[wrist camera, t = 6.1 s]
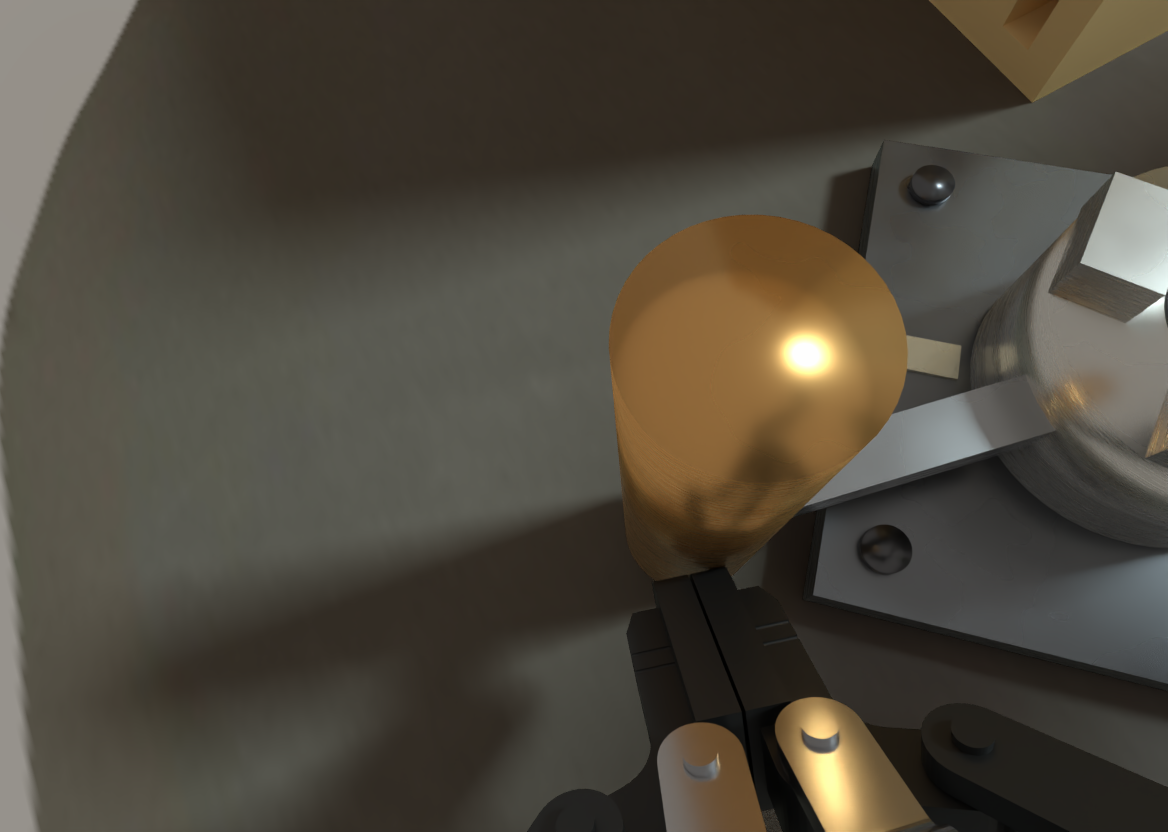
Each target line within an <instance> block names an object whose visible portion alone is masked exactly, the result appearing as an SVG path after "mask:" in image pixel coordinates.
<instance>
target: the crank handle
mask: <svg viewBox="0 0 1168 832" xmlns="http://www.w3.org/2000/svg"><path fill="white" fill-rule="evenodd" d="M609 353H610V364H611V375H612V386H613V397H614V409H615V420H616V431H617V442H618V453H619V464H620V475H621V486H622V497H623V508H624V520H625V530H626V538H627V542H628V546H629V548H630V551H631V553H632V555H633V557H634V559H635V561H636V562H637V563H638V565H639V566H640V567H641V568H642V569H643V571H644V572H645V573H646V574H648V575H649V576H650V577H651V578H652V579H654V580H656V581H659V580H663V579H668V578H673V577H677V576H682V575H686V574H687V575H688V576H689V575H690V574H692V573H696V572H701V571H705V570H710V569H715V568H721V567H726V568H727V569H728V571H729V573H730V575H731V577H732V576H733V575H734V574H735V573H736V572H737V571H738V570H739V569H740V568H741V567H742V566H743V565H744V564H745V563H746V562H747V561H748V560H749V559H750V558H751V557H752V556H753V555H754V554H755V553H756V552H757V551H758V550H759V549H760V548H761V547H762V546H763V545H764V544H766V543H767V542H768V541H769V540H770V539H771V538H772V537H773V536H774V535H775V534H776V533H777V532H778V531H779V530H780V529H781V528H782V527H783V526H784V525H785V524H786V523H787V522H788V521H789V520H790V519H791V518H792V517H795V516H799V515H802V514H805V513H809V512H812V511H815V510H818V509H822V508H825V507H828V506H832V505H835V504H838V503H842V502H845V501H848V500H852V499H855V498H858V497H861V496H865V495H868V494H871V493H875V492H878V491H881V490H885V489H888V488H891V487H895V486H898V485H901V484H904V483H908V482H911V481H914V480H918V479H921V478H924V477H928V476H931V475H934V474H938V473H941V472H944V471H947V470H951V469H954V468H957V467H961V466H964V465H967V464H971V463H974V462H977V461H981V460H984V459H987V458H991V457H994V456H997V455H998V457H999V458H1000V459H1001V461H1002V462H1003V463H1004V464H1005V466H1006V467H1007V468H1008V470H1009V471H1010V472H1011V473H1012V474H1013V475H1014V477H1015V478H1016V479H1017V480H1018V481H1019V482H1020V483H1021V484H1022V485H1023V486H1024V487H1025V488H1026V489H1027V490H1028V491H1029V492H1031V493H1032V494H1033V495H1034V496H1035V497H1037V498H1038V499H1039V500H1040V501H1041V502H1043V503H1044V504H1045V505H1047V506H1048V507H1050V508H1051V509H1053V510H1054V511H1056V512H1057V513H1058V514H1060V515H1061V516H1063V517H1065V518H1066V519H1068V520H1070V521H1072V522H1074V523H1076V524H1078V525H1080V526H1082V527H1084V528H1085V529H1088V530H1090V531H1093V532H1095V533H1098V534H1101V535H1103V536H1106V537H1108V538H1112V539H1115V540H1119V541H1123V542H1126V543H1130V544H1135V545H1142V546H1148V547H1155V548H1168V166H1166V167H1162V168H1158V169H1153V170H1151V171H1148V172H1145V173H1142V174H1139V175H1137V176H1134V177H1130V176H1127V175H1124V174H1121V173H1118V172H1115V173H1114V174H1113V175H1112V176H1111V177H1110V178H1109V179H1108V180H1107V181H1106V182H1105V183H1104V184H1103V185H1102V186H1101V188H1100V189H1099V190H1098V191H1097V192H1096V193H1095V194H1094V195H1093V196H1092V197H1091V198H1090V199H1089V200H1088V201H1087V202H1086V203H1085V204H1084V205H1083V206H1082V208H1081V210H1080V213H1079V215H1078V218H1077V219H1076V220H1075V221H1074V222H1073V223H1072V224H1071V225H1070V226H1069V227H1068V228H1067V229H1066V230H1065V231H1064V232H1063V233H1062V234H1061V235H1060V236H1059V237H1058V238H1057V239H1056V240H1055V241H1054V242H1053V243H1052V244H1051V245H1050V246H1049V247H1048V248H1047V249H1046V250H1045V251H1044V253H1043V254H1042V255H1041V256H1040V257H1039V258H1038V259H1037V260H1036V261H1035V262H1034V263H1033V264H1032V265H1031V266H1030V267H1029V268H1028V269H1027V270H1026V271H1025V272H1024V273H1023V274H1022V275H1021V276H1020V277H1019V278H1018V279H1017V280H1016V281H1015V282H1014V283H1013V284H1012V285H1011V286H1010V287H1009V288H1008V289H1007V290H1006V291H1005V292H1004V293H1003V294H1002V295H1001V297H1000V298H999V299H998V300H997V301H996V302H995V303H994V305H993V306H992V307H991V309H990V310H989V311H988V313H987V314H986V316H985V318H984V320H983V322H982V324H981V326H980V328H979V330H978V333H977V336H976V339H975V342H974V345H973V350H972V357H971V367H970V381H971V388H972V390H971V391H968V392H965V393H961V394H958V395H955V396H951V397H948V398H945V399H941V400H938V401H935V402H931V403H928V404H925V405H921V406H918V407H914V408H911V409H908V410H904V411H901V412H898V413H894V414H892V413H893V411H894V409H895V407H896V405H897V403H898V401H899V398H900V395H901V392H902V390H903V387H904V382H905V377H906V372H907V360H908V347H907V338H906V331H905V327H904V323H903V320H902V316H901V313H900V311H899V308H898V306H897V304H896V301H895V299H894V297H893V295H892V294H891V292H890V290H889V289H888V287H887V285H886V283H885V282H884V281H883V279H882V278H881V277H880V276H879V274H878V273H877V272H876V270H875V269H874V268H873V267H872V266H871V265H870V264H869V263H868V262H867V261H866V260H865V259H864V258H863V257H862V256H861V255H860V254H858V253H857V252H856V251H855V250H853V249H852V248H851V247H850V246H848V245H847V244H845V243H844V242H842V241H841V240H839V239H837V238H836V237H834V236H832V235H831V234H829V233H826V232H824V231H822V230H820V229H818V228H816V227H813V226H810V225H807V224H805V223H802V222H799V221H795V220H791V219H786V218H781V217H775V216H766V215H737V216H728V217H722V218H718V219H713V220H709V221H705V222H702V223H700V224H697V225H694V226H691V227H689V228H687V229H685V230H683V231H681V232H679V233H676V234H674V235H673V236H671V237H670V238H668V239H667V240H665V241H664V242H662V243H661V244H659V245H658V246H657V247H656V248H655V249H653V250H652V251H651V252H650V253H649V254H647V255H646V256H645V258H644V259H643V260H642V261H641V262H640V263H639V264H638V265H637V266H636V267H635V269H634V270H633V272H632V273H631V275H630V276H629V278H628V279H627V280H626V282H625V284H624V286H623V288H622V290H621V292H620V294H619V296H618V298H617V301H616V304H615V307H614V310H613V314H612V319H611V324H610V331H609Z"/></svg>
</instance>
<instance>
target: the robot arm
mask: <svg viewBox="0 0 1168 832" xmlns="http://www.w3.org/2000/svg"><path fill="white" fill-rule="evenodd" d="M652 586H653V592H654V598H655V603H656V608H655V609H650V610H646V611H641V612H637V613H633V614H632V617H631V620H630V624H629V627H628V630H627V633H626V634H627V639H628V644H629V648H630V653H631V658H632V663H633V667H634V672H635V677H636V682H637V686H638V691H639V696H640V700H641V704H642V709H643V713H644V717H645V722H646V726H647V730H648V735H649V739H650V744H651V750H650V755H649V758H648V760H647V763H646V765H645V766H644V768H643V770H642V771H641V772H640V773H639V775H638V776H637V777H636V778H635V779H633V780H632V781H631V782H630V783H628V784H627V785H625V786H624V787H622V788H621V789H619V790H617V791H615V792H614V793H612V794H610V795H609V796H607V795H605V794H603V793H601V792H598V791H595V790H590V789H577V790H571V791H568V792H565V793H563V794H561V795H559V796H557V797H556V798H554V799H553V800H551V801H550V802H549V803H548V804H547V805H546V806H545V807H544V808H543V809H542V811H541V812H540V813H539V815H538V816H537V818H536V819H535V821H534V822H533V824H532V825H531V827H530V828H529V830H528V831H527V832H767V831H766V828H765V824H764V820H763V817H762V813H761V811H764V810H768V809H773V808H774V810H775V813H776V815H777V818H778V821H779V823H780V826H781V828H782V831H783V832H1168V787H1166V786H1163V785H1161V784H1159V783H1156V782H1154V781H1152V780H1149V779H1147V778H1145V777H1143V776H1140V775H1138V774H1136V773H1133V772H1131V771H1129V770H1126V769H1124V768H1122V767H1120V766H1117V765H1115V764H1113V763H1110V762H1108V761H1106V760H1104V759H1101V758H1099V757H1097V756H1094V755H1092V754H1090V753H1087V752H1085V751H1083V750H1081V749H1078V748H1076V747H1074V746H1071V745H1069V744H1067V743H1064V742H1062V741H1060V740H1058V739H1055V738H1053V737H1051V736H1048V735H1046V734H1044V733H1042V732H1039V731H1037V730H1035V729H1032V728H1030V727H1028V726H1025V725H1023V724H1021V723H1019V722H1016V721H1014V720H1012V719H1009V718H1007V717H1005V716H1002V715H1000V714H998V713H996V712H993V711H991V710H988V709H986V708H983V707H980V706H976V705H971V704H960V703H955V704H947V705H944V706H940V707H938V708H936V709H934V710H933V711H931V712H930V713H929V714H928V715H927V716H926V717H925V719H924V721H923V723H922V728H921V730H918V729H902V728H887V727H879V726H874V725H870V724H867V723H864V722H863V721H862V720H861V719H860V717H859V716H858V715H857V714H856V713H855V712H854V711H853V710H852V709H850V708H849V707H847V706H846V705H844V704H842V703H840V702H838V701H835V700H833V699H832V698H831V696H830V694H829V692H828V691H827V689H826V687H825V685H824V683H823V681H822V680H821V678H820V676H819V674H818V672H817V671H816V669H815V667H814V665H813V663H812V662H811V660H810V658H809V656H808V654H807V653H806V651H805V649H804V647H803V645H802V643H801V642H800V640H799V639H798V638H797V634H796V633H795V631H794V629H793V627H792V625H791V624H790V623H789V621H788V618H787V616H786V614H785V613H784V611H783V609H782V607H781V605H780V604H779V602H778V600H777V599H775V598H774V597H773V596H771V595H770V594H768V593H767V592H766V591H764V590H763V589H762V588H760V587H759V586H755V587H751V588H746V589H742V590H737V588H736V586H735V584H734V582H733V580H732V577H731V575H730V573H729V571H728V569H727V568H726V567H721V568H715V569H710V570H705V571H701V572H696V573H692V574H690V575H689V576H688V575H687V574H686V575H682V576H677V577H673V578H668V579H663V580H659V581H654V582H652Z"/></svg>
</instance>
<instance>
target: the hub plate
mask: <svg viewBox="0 0 1168 832" xmlns="http://www.w3.org/2000/svg"><path fill="white" fill-rule="evenodd" d="M1111 176H1112V175H1110V174H1103V173H1097V172H1090V171H1084V170H1077V169H1071V168H1064V167H1058V166H1051V165H1045V164H1038V163H1032V162H1026V161H1019V160H1013V159H1006V158H1000V157H993V156H987V155H980V154H974V153H967V152H961V151H954V150H948V149H941V148H935V147H929V146H922V145H916V144H909V143H903V142H896V141H890V140H884V141H883V143H882V145H881V148H880V150H879V152H878V154H877V156H876V158H875V160H874V163H873V165H872V170H871V176H870V182H869V188H868V194H867V201H866V207H865V213H864V219H863V226H862V232H861V238H860V244H859V251H858V254H860V255H861V256H862V257H863V258H864V259H865V260H866V261H867V262H868V263H869V264H870V265H871V266H872V267H873V268H874V269H875V270H876V272H877V273H878V274H879V276H880V277H881V278H882V279H883V281H884V282H885V283H886V285H887V287H888V289H889V290H890V292H891V294H892V295H893V297H894V299H895V301H896V304H897V306H898V308H899V311H900V313H901V316H902V320H903V323H904V327H905V331H906V338H907V347H908V360H907V372H906V377H905V382H904V387H903V390H902V392H901V395H900V398H899V401H898V403H897V405H896V407H895V409H894V411H893V413H892V414H894V413H898V412H901V411H904V410H908V409H911V408H914V407H918V406H921V405H925V404H928V403H931V402H935V401H938V400H941V399H945V398H948V397H951V396H955V395H958V394H961V393H965V392H968V391H971V390H972V388H971V381H970V367H971V357H972V350H973V345H974V342H975V339H976V336H977V333H978V330H979V328H980V326H981V324H982V322H983V320H984V318H985V316H986V314H987V313H988V311H989V310H990V309H991V307H992V306H993V305H994V303H995V302H996V301H997V300H998V299H999V298H1000V297H1001V295H1002V294H1003V293H1004V292H1005V291H1006V290H1007V289H1008V288H1009V287H1010V286H1011V285H1012V284H1013V283H1014V282H1015V281H1016V280H1017V279H1018V278H1019V277H1020V276H1021V275H1022V274H1023V273H1024V272H1025V271H1026V270H1027V269H1028V268H1029V267H1030V266H1031V265H1032V264H1033V263H1034V262H1035V261H1036V260H1037V259H1038V258H1039V257H1040V256H1041V255H1042V254H1043V253H1044V251H1045V250H1046V249H1047V248H1048V247H1049V246H1050V245H1051V244H1052V243H1053V242H1054V241H1055V240H1056V239H1057V238H1058V237H1059V236H1060V235H1061V234H1062V233H1063V232H1064V231H1065V230H1066V229H1067V228H1068V227H1069V226H1070V225H1071V224H1072V223H1073V222H1074V221H1075V220H1076V219H1077V218H1078V215H1079V213H1080V210H1081V208H1082V206H1083V205H1084V204H1085V203H1086V202H1087V201H1088V200H1089V199H1090V198H1091V197H1092V196H1093V195H1094V194H1095V193H1096V192H1097V191H1098V190H1099V189H1100V188H1101V186H1102V185H1103V184H1104V183H1105V182H1106V181H1107V180H1108V179H1109V178H1110V177H1111ZM803 600H807V601H811V602H815V603H819V604H823V605H827V606H831V607H835V608H839V609H843V610H847V611H851V612H855V613H859V614H863V615H867V616H871V617H875V618H879V619H883V620H887V621H891V622H895V623H899V624H903V625H907V626H911V627H915V628H919V629H923V630H926V631H930V632H934V633H938V634H942V635H946V636H950V637H954V638H958V639H962V640H966V641H970V642H974V643H978V644H982V645H986V646H990V647H994V648H998V649H1002V650H1006V651H1010V652H1014V653H1018V654H1022V655H1026V656H1030V657H1034V658H1038V659H1042V660H1046V661H1050V662H1054V663H1058V664H1062V665H1066V666H1070V667H1074V668H1078V669H1082V670H1086V671H1090V672H1094V673H1098V674H1102V675H1106V676H1110V677H1114V678H1118V679H1122V680H1126V681H1130V682H1134V683H1138V684H1142V685H1146V686H1150V687H1154V688H1158V689H1161V690H1165V691H1168V548H1155V547H1148V546H1142V545H1135V544H1130V543H1126V542H1123V541H1119V540H1115V539H1112V538H1108V537H1106V536H1103V535H1101V534H1098V533H1095V532H1093V531H1090V530H1088V529H1085V528H1084V527H1082V526H1080V525H1078V524H1076V523H1074V522H1072V521H1070V520H1068V519H1066V518H1065V517H1063V516H1061V515H1060V514H1058V513H1057V512H1056V511H1054V510H1053V509H1051V508H1050V507H1048V506H1047V505H1045V504H1044V503H1043V502H1041V501H1040V500H1039V499H1038V498H1037V497H1035V496H1034V495H1033V494H1032V493H1031V492H1029V491H1028V490H1027V489H1026V488H1025V487H1024V486H1023V485H1022V484H1021V483H1020V482H1019V481H1018V480H1017V479H1016V478H1015V477H1014V475H1013V474H1012V473H1011V472H1010V471H1009V470H1008V468H1007V467H1006V466H1005V464H1004V463H1003V462H1002V461H1001V459H1000V458H999V457H998V455H997V456H994V457H991V458H987V459H984V460H981V461H977V462H974V463H971V464H967V465H964V466H961V467H957V468H954V469H951V470H947V471H944V472H941V473H938V474H934V475H931V476H928V477H924V478H921V479H918V480H914V481H911V482H908V483H904V484H901V485H898V486H895V487H891V488H888V489H885V490H881V491H878V492H875V493H871V494H868V495H865V496H861V497H858V498H855V499H852V500H848V501H845V502H842V503H838V504H835V505H832V506H828V507H825V508H822V509H818V510H817V513H816V519H815V525H814V531H813V538H812V544H811V550H810V556H809V563H808V569H807V575H806V581H805V588H804V594H803Z"/></svg>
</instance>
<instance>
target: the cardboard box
mask: <svg viewBox="0 0 1168 832" xmlns="http://www.w3.org/2000/svg"><path fill="white" fill-rule="evenodd" d="M929 1H930V2H931V3H932V4H933V5H934V6H935V7H936V8H937V9H938V10H939V11H940V12H941V13H942V14H943V15H944V16H945V17H946V18H947V19H948V20H949V21H950V22H951V23H952V24H953V25H954V26H955V27H956V28H957V29H958V30H959V31H960V32H961V33H962V34H963V35H964V36H965V37H966V38H967V39H968V40H969V41H970V42H971V43H972V44H973V45H974V46H976V47H977V48H978V49H979V50H980V51H981V52H982V53H983V54H984V55H985V56H986V57H987V58H988V59H989V60H990V61H991V62H992V63H993V64H994V65H995V66H996V67H997V68H998V69H999V70H1000V71H1001V72H1002V73H1003V74H1004V75H1005V76H1006V77H1007V78H1008V79H1009V80H1010V81H1011V82H1012V83H1013V84H1014V85H1015V86H1016V87H1017V88H1018V89H1019V90H1020V91H1021V92H1022V93H1023V94H1024V95H1025V96H1026V97H1027V98H1028V99H1029V100H1030V101H1031V102H1032V103H1033V102H1035V101H1037V100H1038V99H1040V98H1042V97H1044V96H1046V95H1048V94H1050V93H1052V92H1053V91H1055V90H1057V89H1059V88H1061V87H1063V86H1065V85H1067V84H1069V83H1070V82H1072V81H1074V80H1076V79H1078V78H1080V77H1082V76H1084V75H1085V74H1087V73H1089V72H1091V71H1093V70H1095V69H1097V68H1099V67H1101V66H1102V65H1104V64H1106V63H1108V62H1110V61H1112V60H1114V59H1116V58H1117V57H1119V56H1121V55H1123V54H1125V53H1127V52H1129V51H1131V50H1132V49H1134V48H1136V47H1138V46H1140V45H1142V44H1144V43H1146V42H1148V41H1149V40H1151V39H1153V38H1155V37H1157V36H1159V35H1161V34H1163V33H1164V32H1166V31H1168V0H929Z"/></svg>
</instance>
